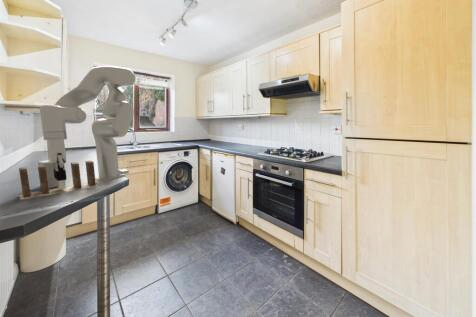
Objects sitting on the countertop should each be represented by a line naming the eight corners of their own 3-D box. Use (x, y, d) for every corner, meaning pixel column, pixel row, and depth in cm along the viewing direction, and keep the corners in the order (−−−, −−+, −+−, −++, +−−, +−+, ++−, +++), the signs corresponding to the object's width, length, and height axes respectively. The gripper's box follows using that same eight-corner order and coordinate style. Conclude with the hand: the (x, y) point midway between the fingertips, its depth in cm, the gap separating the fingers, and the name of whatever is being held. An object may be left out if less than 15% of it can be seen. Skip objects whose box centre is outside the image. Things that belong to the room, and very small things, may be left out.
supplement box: (60, 184, 108) (57, 158, 106) (66, 186, 104) (63, 160, 102) (40, 188, 102) (37, 160, 100) (46, 190, 98) (42, 162, 96)
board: (94, 184, 108) (94, 182, 108) (99, 188, 102) (99, 185, 102) (19, 197, 89) (19, 194, 89) (20, 202, 83) (20, 199, 83)
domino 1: (47, 191, 94) (44, 165, 92) (49, 193, 90) (45, 166, 89) (41, 192, 93) (37, 166, 91) (42, 194, 89) (38, 167, 87)
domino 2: (63, 186, 98) (60, 161, 96) (65, 188, 94) (62, 162, 92) (57, 187, 96) (54, 162, 95) (59, 189, 93) (56, 163, 91)
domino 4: (92, 183, 106) (90, 160, 104) (95, 185, 102) (93, 161, 101) (87, 184, 104) (85, 161, 103) (90, 186, 101) (88, 162, 99)
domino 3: (78, 185, 102) (76, 162, 100) (81, 188, 98) (78, 163, 97) (73, 186, 100) (70, 162, 99) (76, 188, 97) (73, 164, 95)
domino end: (29, 193, 90) (25, 167, 88) (30, 196, 86) (26, 168, 85) (23, 195, 89) (18, 167, 87) (23, 197, 85) (19, 169, 83)
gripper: (40, 135, 95) (46, 177, 98) (46, 137, 83) (52, 184, 86) (62, 135, 101) (67, 174, 103) (70, 136, 89) (75, 180, 91)
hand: (60, 178), depth 95 cm, fingers closed on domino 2, 4 cm apart
